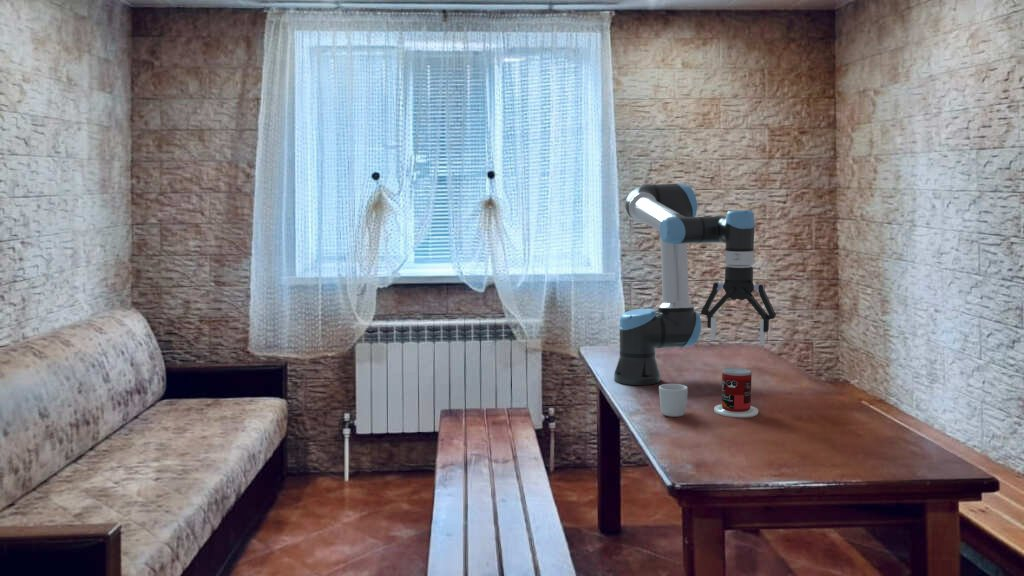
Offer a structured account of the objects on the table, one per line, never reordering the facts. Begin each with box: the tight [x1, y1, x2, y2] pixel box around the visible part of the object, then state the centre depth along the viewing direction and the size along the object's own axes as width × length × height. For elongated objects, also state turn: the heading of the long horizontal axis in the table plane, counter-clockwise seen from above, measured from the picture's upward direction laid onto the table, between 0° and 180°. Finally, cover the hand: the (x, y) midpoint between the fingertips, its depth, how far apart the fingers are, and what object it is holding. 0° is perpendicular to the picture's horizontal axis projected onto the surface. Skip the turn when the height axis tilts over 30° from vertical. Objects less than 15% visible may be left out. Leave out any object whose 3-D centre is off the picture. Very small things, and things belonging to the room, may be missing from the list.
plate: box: [713, 403, 759, 419], centre depth 232 cm, size 12×12×1 cm
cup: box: [658, 383, 689, 418], centre depth 231 cm, size 11×8×8 cm
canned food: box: [721, 367, 752, 412], centre depth 231 cm, size 8×8×11 cm
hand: (737, 341), depth 230 cm, fingers open, 13 cm apart
